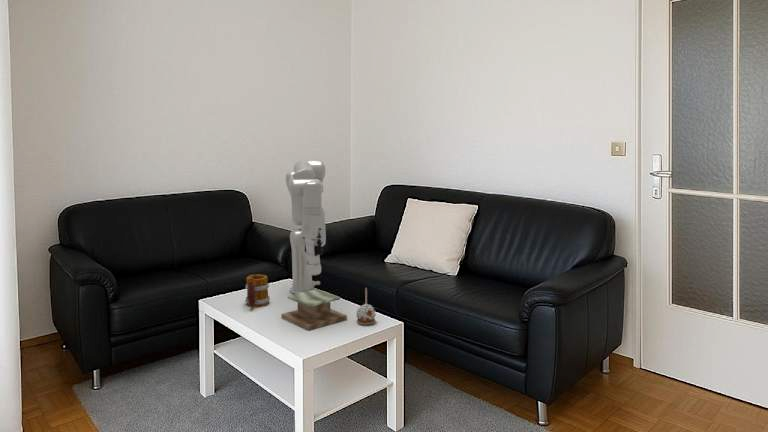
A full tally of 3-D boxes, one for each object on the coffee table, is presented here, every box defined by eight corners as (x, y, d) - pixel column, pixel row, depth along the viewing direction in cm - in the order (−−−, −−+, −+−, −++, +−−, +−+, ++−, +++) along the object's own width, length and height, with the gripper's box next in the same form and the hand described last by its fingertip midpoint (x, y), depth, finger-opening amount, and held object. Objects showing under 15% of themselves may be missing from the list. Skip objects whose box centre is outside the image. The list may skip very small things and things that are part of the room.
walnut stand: (319, 308, 272) (319, 287, 270) (346, 319, 257) (346, 297, 256) (281, 318, 259) (280, 295, 257) (308, 330, 244) (307, 306, 242)
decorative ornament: (368, 327, 249) (368, 292, 246) (353, 323, 253) (353, 289, 250) (378, 321, 255) (378, 287, 253) (363, 318, 259) (363, 284, 257)
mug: (272, 300, 284) (271, 269, 281) (262, 311, 268) (261, 279, 265) (250, 299, 285) (249, 268, 282) (238, 310, 269) (237, 278, 266)
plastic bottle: (318, 277, 251) (318, 230, 248) (303, 276, 252) (302, 229, 249) (323, 273, 257) (322, 227, 254) (308, 272, 258) (307, 226, 255)
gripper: (293, 209, 254) (294, 251, 257) (317, 214, 241) (317, 258, 244) (308, 207, 259) (308, 248, 262) (332, 212, 246) (332, 255, 249)
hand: (313, 252), depth 253 cm, fingers closed on plastic bottle, 6 cm apart
